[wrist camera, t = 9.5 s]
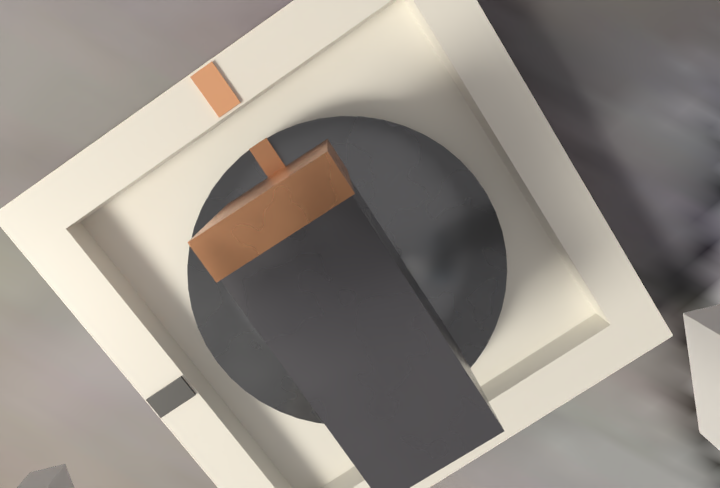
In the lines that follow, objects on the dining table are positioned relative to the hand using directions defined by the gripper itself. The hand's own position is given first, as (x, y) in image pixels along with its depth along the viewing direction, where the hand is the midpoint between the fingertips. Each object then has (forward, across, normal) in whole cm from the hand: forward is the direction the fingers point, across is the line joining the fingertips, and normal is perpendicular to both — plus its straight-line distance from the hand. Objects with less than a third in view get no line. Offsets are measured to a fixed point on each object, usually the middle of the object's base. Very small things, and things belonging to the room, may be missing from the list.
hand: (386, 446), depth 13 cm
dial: (+14, +1, 0) cm, 14 cm away
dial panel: (+15, +1, 0) cm, 15 cm away
